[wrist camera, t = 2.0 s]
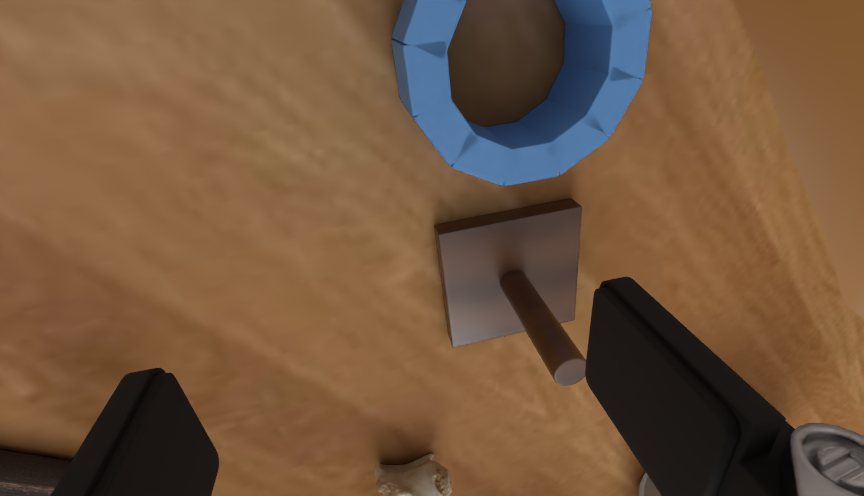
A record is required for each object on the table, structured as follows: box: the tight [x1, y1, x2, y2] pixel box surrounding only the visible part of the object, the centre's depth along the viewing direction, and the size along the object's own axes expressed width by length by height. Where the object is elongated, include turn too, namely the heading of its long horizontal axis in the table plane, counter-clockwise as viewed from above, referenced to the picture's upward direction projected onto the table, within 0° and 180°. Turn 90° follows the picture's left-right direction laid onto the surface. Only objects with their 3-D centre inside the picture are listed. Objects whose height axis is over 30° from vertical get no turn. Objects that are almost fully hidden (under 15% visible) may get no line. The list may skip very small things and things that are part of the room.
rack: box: [434, 199, 586, 386], centre depth 27 cm, size 10×10×10 cm
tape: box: [391, 0, 652, 186], centre depth 22 cm, size 12×12×5 cm
